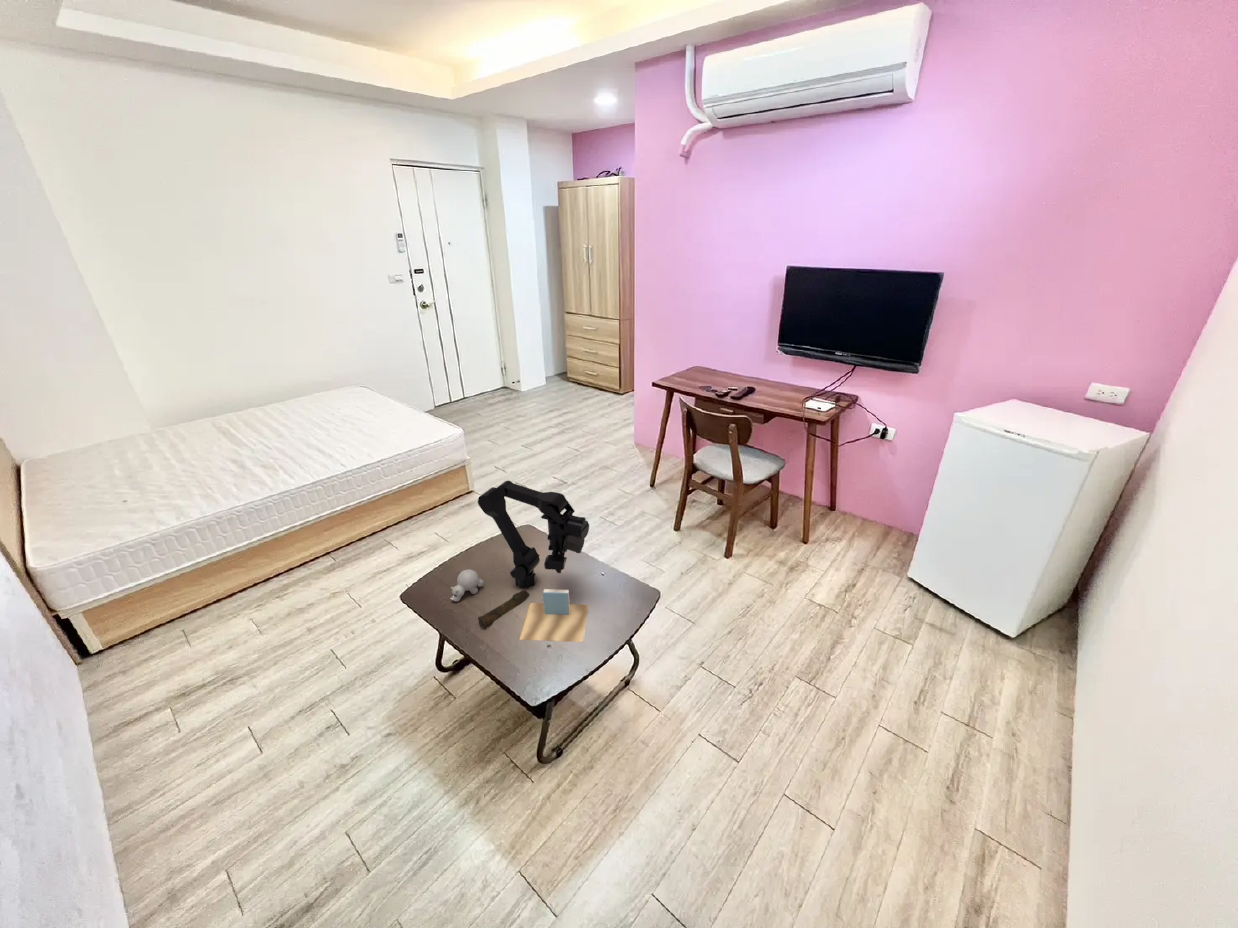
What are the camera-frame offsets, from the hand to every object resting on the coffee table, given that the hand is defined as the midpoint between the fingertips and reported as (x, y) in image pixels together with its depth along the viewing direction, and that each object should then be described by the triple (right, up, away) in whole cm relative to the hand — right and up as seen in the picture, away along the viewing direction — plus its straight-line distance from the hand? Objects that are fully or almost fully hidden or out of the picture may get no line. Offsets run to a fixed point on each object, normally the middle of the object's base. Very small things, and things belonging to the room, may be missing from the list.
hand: (560, 569), depth 160 cm
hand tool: (-18, -14, -1) cm, 23 cm away
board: (-1, -17, -6) cm, 18 cm away
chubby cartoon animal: (-34, -10, +7) cm, 36 cm away
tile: (0, -14, -3) cm, 14 cm away
